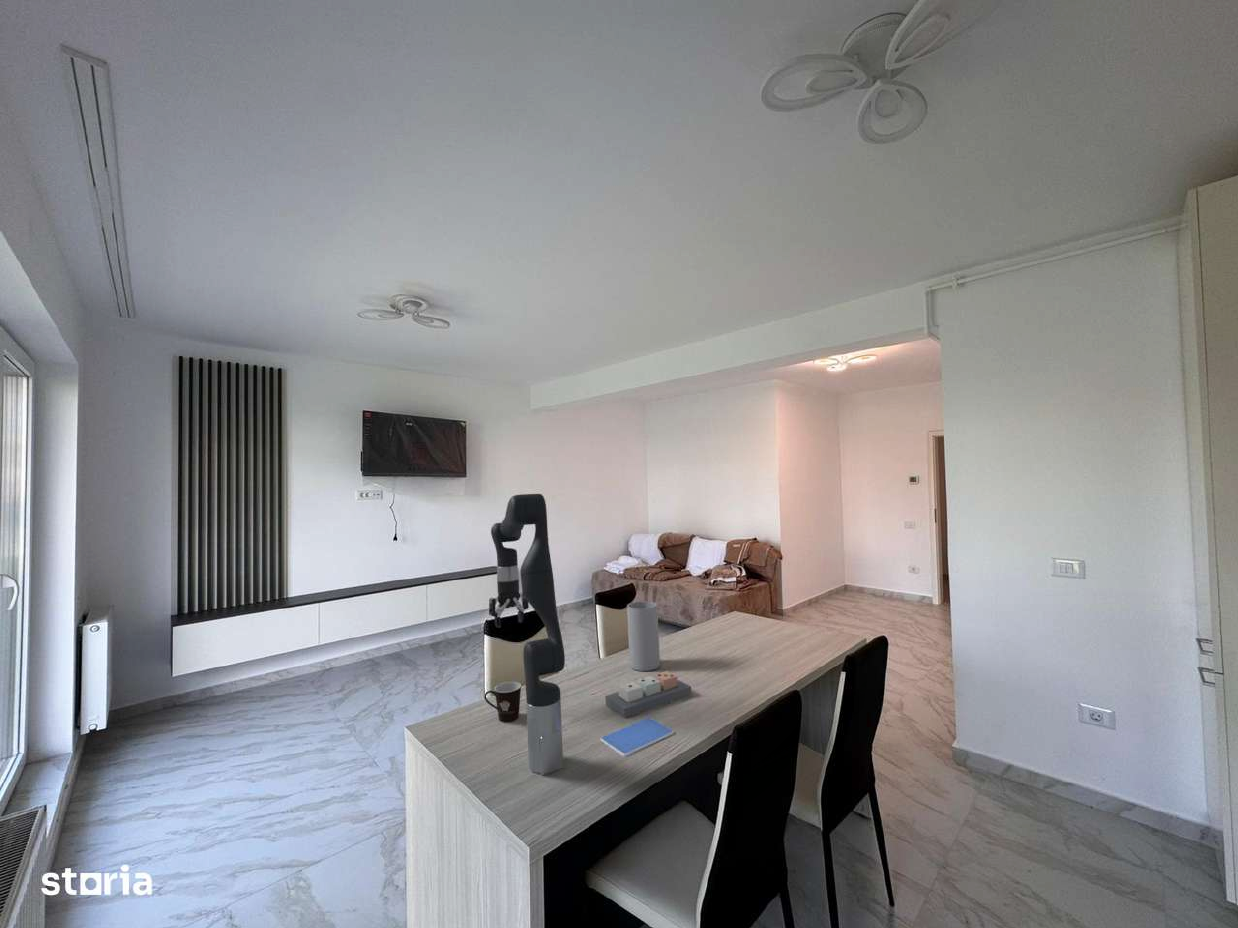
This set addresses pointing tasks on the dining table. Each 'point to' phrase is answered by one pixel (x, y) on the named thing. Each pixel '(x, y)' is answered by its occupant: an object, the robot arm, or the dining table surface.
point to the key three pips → (667, 680)
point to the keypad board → (647, 700)
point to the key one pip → (630, 691)
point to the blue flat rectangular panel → (636, 736)
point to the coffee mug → (507, 701)
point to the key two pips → (649, 685)
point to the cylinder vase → (643, 636)
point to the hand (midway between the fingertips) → (509, 624)
